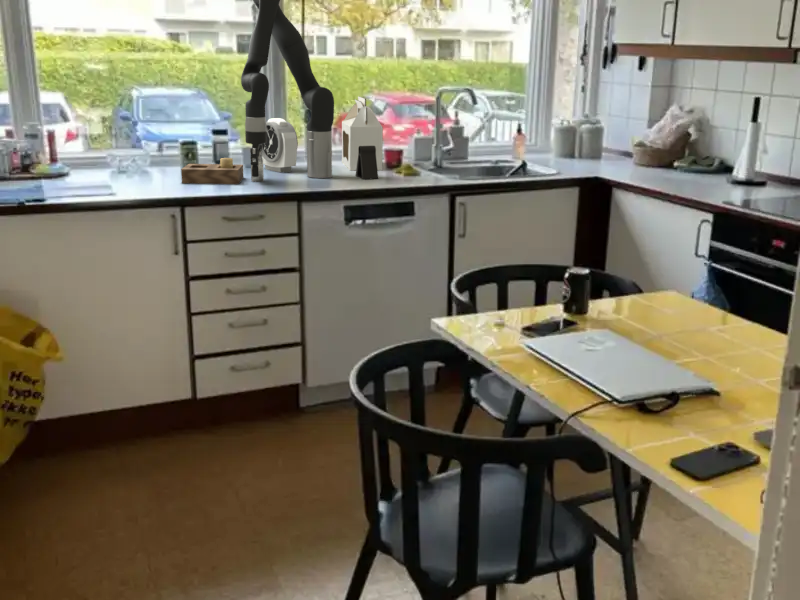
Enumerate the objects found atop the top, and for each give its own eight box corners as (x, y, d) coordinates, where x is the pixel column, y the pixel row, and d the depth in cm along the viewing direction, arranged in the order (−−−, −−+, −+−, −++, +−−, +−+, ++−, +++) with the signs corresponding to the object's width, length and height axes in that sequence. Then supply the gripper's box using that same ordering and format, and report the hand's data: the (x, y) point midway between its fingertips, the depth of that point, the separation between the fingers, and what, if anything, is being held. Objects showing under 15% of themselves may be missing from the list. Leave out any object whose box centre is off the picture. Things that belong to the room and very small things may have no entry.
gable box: (341, 163, 363) (341, 95, 355) (372, 163, 366) (373, 95, 358) (349, 171, 342) (350, 99, 334) (382, 170, 345) (383, 99, 337)
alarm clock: (256, 168, 343) (255, 117, 338) (274, 166, 349) (273, 116, 343) (282, 173, 331) (281, 120, 325) (300, 172, 336) (299, 119, 330)
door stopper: (355, 176, 329) (355, 144, 326) (370, 175, 331) (370, 144, 328) (363, 179, 321) (363, 147, 318) (378, 179, 323) (378, 147, 320)
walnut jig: (243, 177, 319) (242, 156, 317) (238, 184, 306) (237, 161, 304) (189, 177, 318) (188, 155, 316) (181, 183, 305) (180, 160, 303)
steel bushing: (264, 180, 315) (263, 158, 313) (263, 182, 311) (262, 160, 309) (252, 180, 315) (251, 158, 313) (250, 182, 311) (250, 159, 308)
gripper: (264, 132, 301) (265, 178, 306) (268, 128, 315) (269, 172, 319) (242, 131, 301) (243, 177, 305) (247, 127, 314) (249, 172, 319)
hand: (256, 175), depth 312 cm, fingers open, 8 cm apart
